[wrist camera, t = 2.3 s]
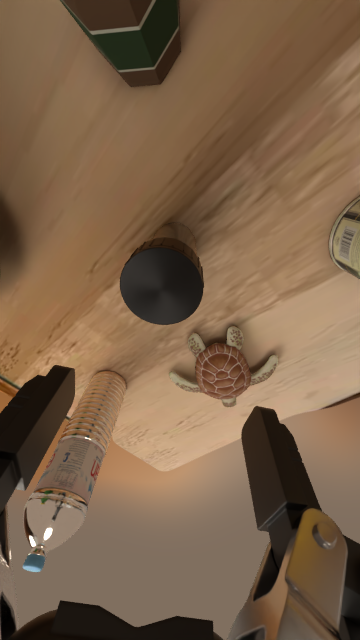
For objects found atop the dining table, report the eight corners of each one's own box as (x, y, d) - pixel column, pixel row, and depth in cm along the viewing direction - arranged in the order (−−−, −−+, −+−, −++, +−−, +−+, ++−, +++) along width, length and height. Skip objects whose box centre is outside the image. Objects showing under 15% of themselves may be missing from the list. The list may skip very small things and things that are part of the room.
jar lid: (121, 241, 21) (108, 251, 18) (199, 232, 20) (200, 241, 17) (137, 309, 24) (129, 328, 21) (205, 304, 23) (206, 322, 20)
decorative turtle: (182, 403, 47) (181, 426, 43) (157, 335, 39) (152, 355, 35) (278, 390, 44) (287, 413, 39) (271, 313, 36) (282, 332, 31)
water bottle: (103, 363, 43) (10, 551, 21) (134, 382, 45) (78, 571, 23) (85, 383, 45) (-14, 566, 24) (115, 400, 47) (49, 583, 26)
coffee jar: (148, 225, 30) (120, 255, 19) (194, 219, 29) (194, 247, 18) (156, 269, 33) (135, 319, 21) (198, 265, 32) (199, 314, 21)
